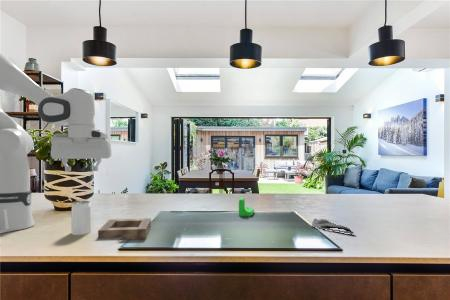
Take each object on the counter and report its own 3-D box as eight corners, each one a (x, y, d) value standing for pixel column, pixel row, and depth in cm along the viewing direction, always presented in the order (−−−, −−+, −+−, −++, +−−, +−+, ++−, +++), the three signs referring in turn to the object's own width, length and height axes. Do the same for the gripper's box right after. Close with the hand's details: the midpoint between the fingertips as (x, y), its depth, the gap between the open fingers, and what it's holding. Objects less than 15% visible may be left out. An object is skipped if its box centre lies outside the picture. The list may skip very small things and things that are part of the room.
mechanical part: (251, 216, 140) (251, 199, 140) (238, 215, 142) (238, 199, 142) (254, 211, 152) (254, 195, 152) (242, 210, 153) (242, 195, 153)
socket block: (98, 240, 101) (98, 230, 101) (109, 228, 117) (109, 219, 117) (146, 238, 104) (146, 228, 104) (150, 227, 119) (150, 218, 119)
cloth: (302, 220, 135) (302, 215, 135) (331, 219, 136) (331, 214, 136) (324, 237, 109) (324, 231, 109) (360, 236, 110) (360, 230, 110)
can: (67, 236, 106) (67, 203, 106) (80, 231, 112) (80, 200, 112) (82, 238, 104) (82, 204, 104) (94, 233, 110) (94, 201, 110)
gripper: (47, 132, 103) (47, 172, 103) (108, 133, 106) (108, 171, 106) (54, 133, 110) (55, 171, 110) (112, 134, 112) (112, 170, 113)
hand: (81, 171), depth 108 cm, fingers open, 8 cm apart
